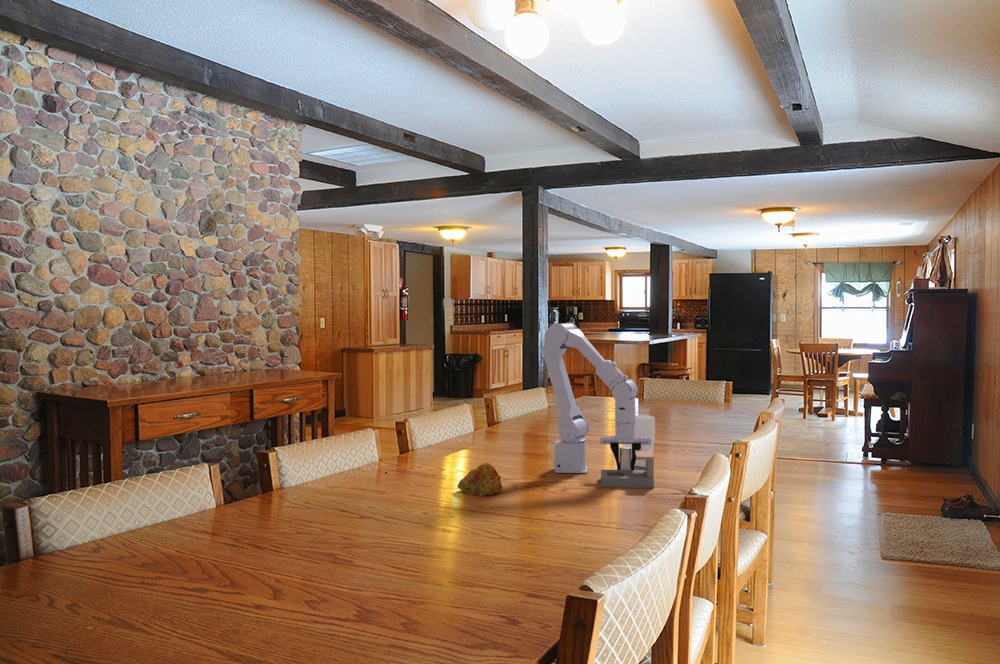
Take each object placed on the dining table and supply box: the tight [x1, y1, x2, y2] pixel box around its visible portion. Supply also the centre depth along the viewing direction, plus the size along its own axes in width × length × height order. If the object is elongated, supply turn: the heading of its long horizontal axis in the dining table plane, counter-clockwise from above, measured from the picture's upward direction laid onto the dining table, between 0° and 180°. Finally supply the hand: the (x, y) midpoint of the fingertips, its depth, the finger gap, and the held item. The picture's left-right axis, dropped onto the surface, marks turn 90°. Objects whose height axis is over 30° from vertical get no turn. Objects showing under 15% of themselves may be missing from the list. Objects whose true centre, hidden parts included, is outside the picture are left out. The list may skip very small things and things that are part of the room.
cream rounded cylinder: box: [635, 415, 656, 468], centre depth 221 cm, size 7×7×15 cm
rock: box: [457, 462, 503, 497], centre depth 193 cm, size 11×8×10 cm
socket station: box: [600, 450, 655, 489], centre depth 200 cm, size 14×10×8 cm
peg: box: [619, 446, 632, 470], centre depth 208 cm, size 3×3×8 cm
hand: (625, 469), depth 208 cm, fingers closed on peg, 3 cm apart
